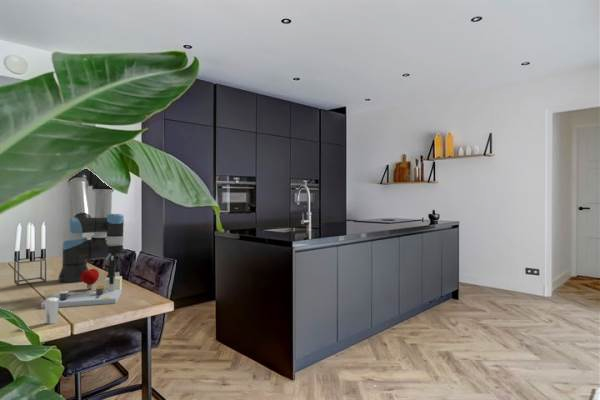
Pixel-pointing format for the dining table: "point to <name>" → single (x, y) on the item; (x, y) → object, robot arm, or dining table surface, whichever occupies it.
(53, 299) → the milkshake
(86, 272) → the light bulb
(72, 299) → the panel
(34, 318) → the dining table surface
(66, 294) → the breaker
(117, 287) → the cap
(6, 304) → the dining table surface
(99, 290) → the breaker
